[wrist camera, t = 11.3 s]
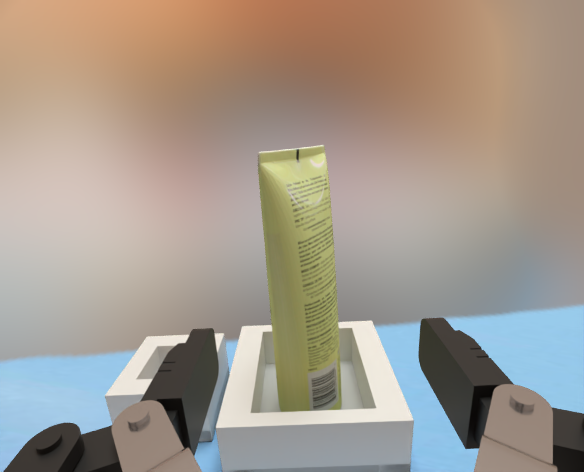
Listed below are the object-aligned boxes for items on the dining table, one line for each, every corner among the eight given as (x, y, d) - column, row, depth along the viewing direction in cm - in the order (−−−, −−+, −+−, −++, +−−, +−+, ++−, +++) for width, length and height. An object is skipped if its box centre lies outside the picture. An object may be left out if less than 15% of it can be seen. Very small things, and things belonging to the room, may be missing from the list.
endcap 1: (118, 444, 24) (104, 395, 23) (155, 377, 31) (147, 336, 30) (212, 441, 24) (204, 391, 23) (229, 374, 31) (224, 333, 30)
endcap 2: (224, 481, 21) (215, 427, 20) (246, 366, 32) (242, 326, 30) (409, 475, 21) (413, 420, 20) (370, 361, 32) (371, 320, 30)
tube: (274, 380, 28) (252, 147, 22) (331, 371, 29) (324, 142, 23) (282, 437, 23) (256, 152, 17) (352, 424, 24) (350, 145, 18)
